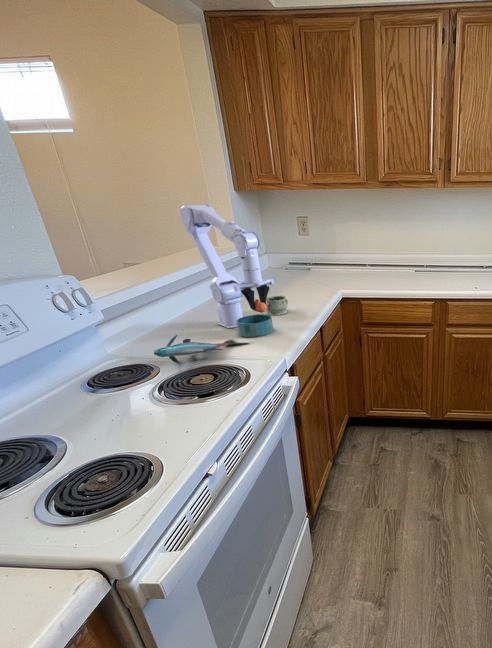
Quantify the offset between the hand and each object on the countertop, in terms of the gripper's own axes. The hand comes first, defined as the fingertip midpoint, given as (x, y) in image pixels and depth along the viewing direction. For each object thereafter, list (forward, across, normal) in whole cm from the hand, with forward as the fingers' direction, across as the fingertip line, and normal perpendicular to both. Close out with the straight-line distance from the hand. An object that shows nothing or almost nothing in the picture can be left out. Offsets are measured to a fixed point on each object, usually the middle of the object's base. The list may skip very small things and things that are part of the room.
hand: (258, 307), depth 150 cm
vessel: (+9, +17, +16) cm, 25 cm away
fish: (+9, -26, -9) cm, 29 cm away
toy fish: (+1, 0, 0) cm, 1 cm away
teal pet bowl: (+8, -3, -1) cm, 9 cm away
